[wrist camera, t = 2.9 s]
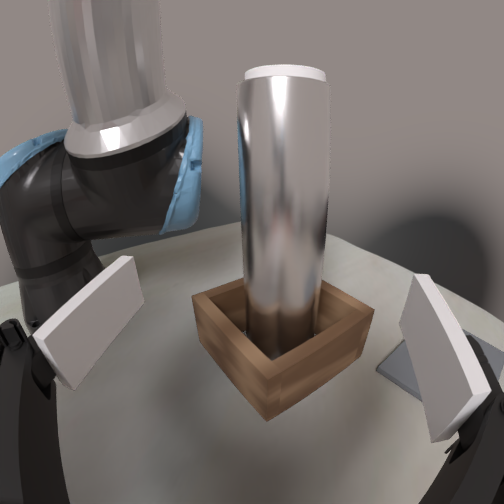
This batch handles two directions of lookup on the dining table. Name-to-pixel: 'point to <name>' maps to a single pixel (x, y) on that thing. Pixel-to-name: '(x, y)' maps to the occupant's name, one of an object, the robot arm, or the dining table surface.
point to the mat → (404, 375)
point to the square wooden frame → (291, 363)
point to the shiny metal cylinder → (283, 201)
